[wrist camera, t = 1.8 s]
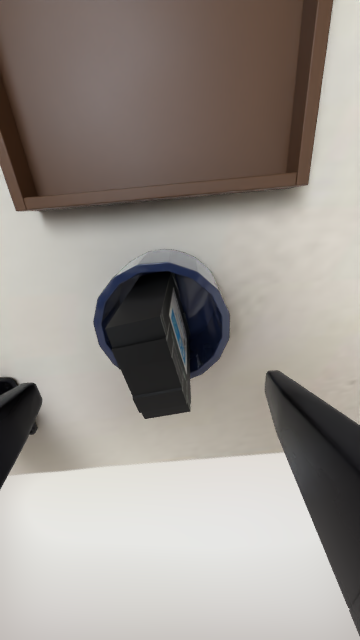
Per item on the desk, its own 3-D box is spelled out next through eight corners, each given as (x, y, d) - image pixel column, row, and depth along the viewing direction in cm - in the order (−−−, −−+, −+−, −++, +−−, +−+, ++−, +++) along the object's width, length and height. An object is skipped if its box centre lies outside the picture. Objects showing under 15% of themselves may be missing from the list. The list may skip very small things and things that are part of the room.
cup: (125, 350, 19) (109, 386, 15) (105, 253, 15) (78, 268, 12) (220, 344, 18) (229, 380, 14) (219, 244, 15) (230, 257, 11)
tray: (38, 210, 14) (15, 211, 12) (-56, -92, 10) (-115, -166, 8) (291, 188, 13) (308, 184, 12) (328, -156, 9) (369, -258, 7)
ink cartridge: (190, 331, 17) (193, 417, 10) (161, 337, 18) (144, 425, 10) (173, 266, 15) (163, 318, 8) (140, 274, 16) (102, 331, 8)
